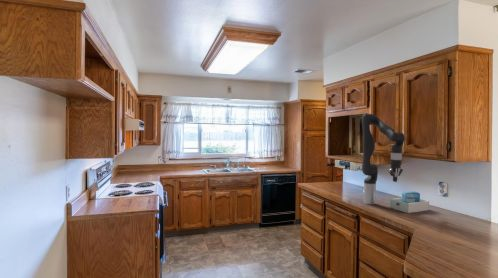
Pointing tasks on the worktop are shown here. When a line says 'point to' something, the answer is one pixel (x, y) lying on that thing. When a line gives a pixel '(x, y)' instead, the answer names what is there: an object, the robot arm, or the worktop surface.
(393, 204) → the drawer
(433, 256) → the worktop surface
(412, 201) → the data package
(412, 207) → the cubby
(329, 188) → the worktop surface
